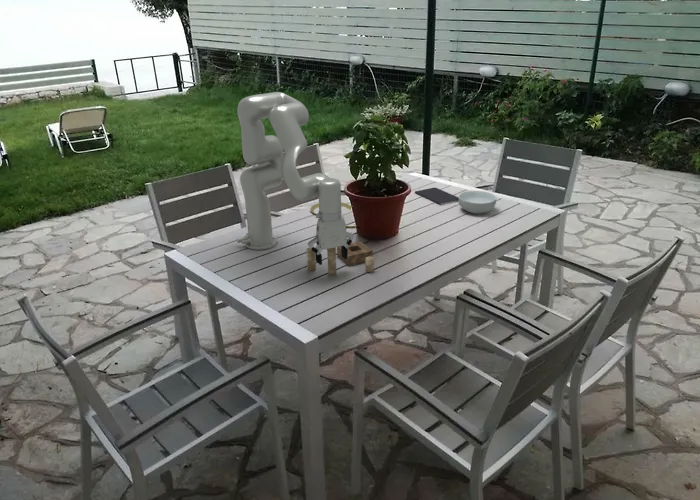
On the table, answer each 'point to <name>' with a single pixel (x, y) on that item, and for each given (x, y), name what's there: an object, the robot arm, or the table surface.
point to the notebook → (437, 196)
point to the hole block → (355, 253)
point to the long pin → (331, 261)
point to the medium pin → (311, 260)
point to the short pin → (369, 264)
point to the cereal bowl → (477, 201)
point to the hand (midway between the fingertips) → (331, 260)
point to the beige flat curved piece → (341, 205)
